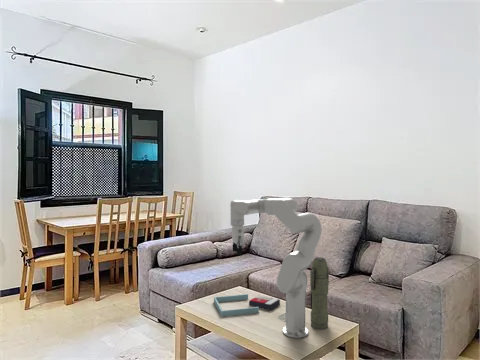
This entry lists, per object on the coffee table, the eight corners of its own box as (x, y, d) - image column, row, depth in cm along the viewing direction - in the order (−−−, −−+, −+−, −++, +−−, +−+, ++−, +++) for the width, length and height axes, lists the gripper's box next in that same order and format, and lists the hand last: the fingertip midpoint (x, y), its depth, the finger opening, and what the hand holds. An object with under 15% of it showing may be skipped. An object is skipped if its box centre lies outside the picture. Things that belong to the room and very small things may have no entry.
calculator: (258, 294, 230) (279, 298, 222) (258, 301, 230) (280, 305, 222) (248, 299, 221) (270, 303, 213) (248, 307, 222) (270, 311, 213)
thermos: (333, 325, 194) (333, 258, 192) (319, 332, 186) (319, 262, 184) (319, 320, 200) (319, 255, 199) (305, 326, 192) (305, 258, 191)
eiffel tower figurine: (291, 311, 214) (291, 288, 213) (305, 316, 207) (306, 292, 206) (274, 318, 203) (274, 294, 203) (288, 324, 196) (288, 299, 196)
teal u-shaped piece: (258, 312, 211) (258, 307, 211) (221, 316, 205) (221, 311, 205) (247, 298, 233) (247, 293, 232) (213, 302, 227) (213, 297, 227)
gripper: (248, 224, 200) (248, 256, 200) (240, 220, 216) (240, 249, 217) (234, 225, 198) (234, 257, 198) (227, 220, 215) (227, 250, 215)
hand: (237, 253), depth 208 cm, fingers open, 9 cm apart
